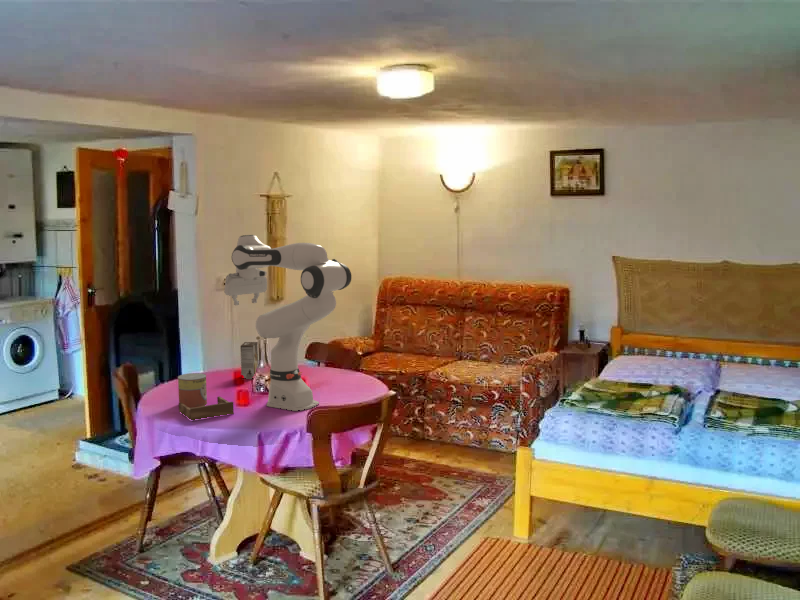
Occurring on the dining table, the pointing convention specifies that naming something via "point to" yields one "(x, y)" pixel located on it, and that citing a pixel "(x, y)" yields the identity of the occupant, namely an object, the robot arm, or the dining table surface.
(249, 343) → the coffee box
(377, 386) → the dining table surface
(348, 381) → the dining table surface
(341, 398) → the dining table surface
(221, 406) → the box
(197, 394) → the canned food
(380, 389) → the dining table surface
